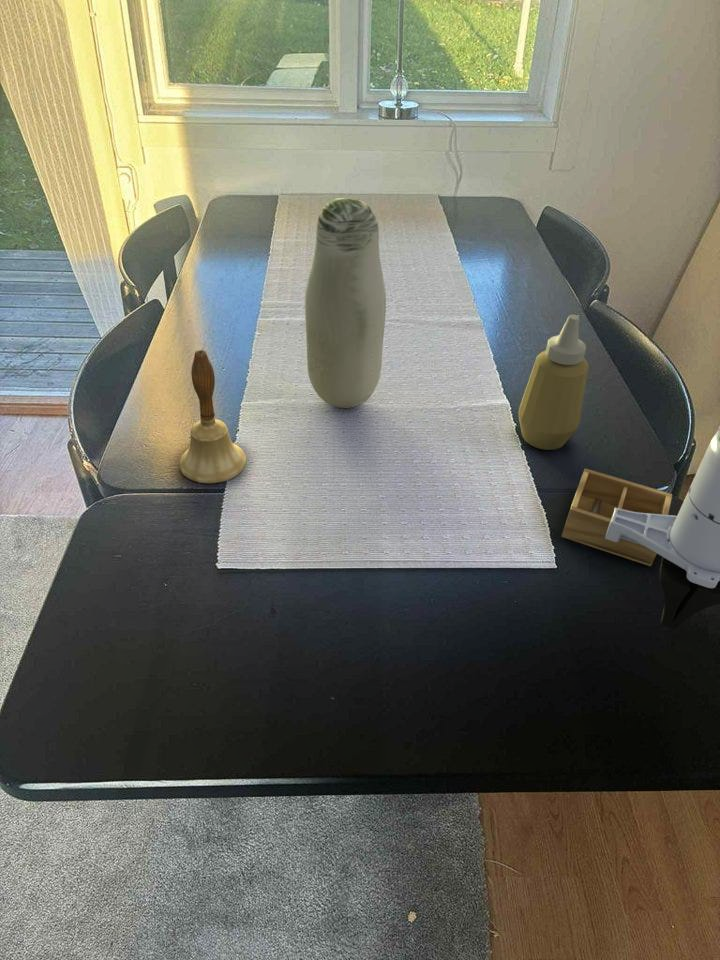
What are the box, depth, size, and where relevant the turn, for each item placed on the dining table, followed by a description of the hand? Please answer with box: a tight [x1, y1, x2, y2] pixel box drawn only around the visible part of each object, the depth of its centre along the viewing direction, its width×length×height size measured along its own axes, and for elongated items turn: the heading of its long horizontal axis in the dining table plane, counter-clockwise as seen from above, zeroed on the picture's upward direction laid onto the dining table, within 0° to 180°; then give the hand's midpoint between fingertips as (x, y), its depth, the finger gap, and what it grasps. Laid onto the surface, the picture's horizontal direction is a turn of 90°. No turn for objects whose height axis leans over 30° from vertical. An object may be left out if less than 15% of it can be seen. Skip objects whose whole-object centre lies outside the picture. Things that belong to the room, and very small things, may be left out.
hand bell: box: [179, 349, 247, 484], centre depth 83 cm, size 8×8×16 cm
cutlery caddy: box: [561, 468, 673, 567], centre depth 80 cm, size 8×10×4 cm
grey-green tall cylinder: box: [304, 197, 387, 409], centre depth 91 cm, size 10×10×28 cm
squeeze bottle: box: [517, 314, 590, 451], centre depth 89 cm, size 8×8×18 cm
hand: (670, 618), depth 60 cm, fingers closed
